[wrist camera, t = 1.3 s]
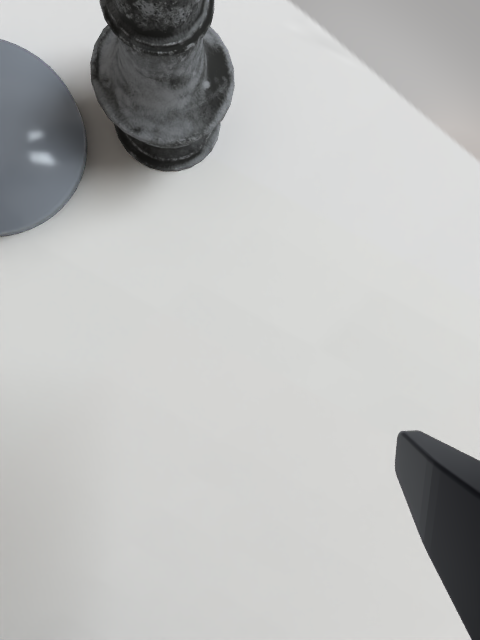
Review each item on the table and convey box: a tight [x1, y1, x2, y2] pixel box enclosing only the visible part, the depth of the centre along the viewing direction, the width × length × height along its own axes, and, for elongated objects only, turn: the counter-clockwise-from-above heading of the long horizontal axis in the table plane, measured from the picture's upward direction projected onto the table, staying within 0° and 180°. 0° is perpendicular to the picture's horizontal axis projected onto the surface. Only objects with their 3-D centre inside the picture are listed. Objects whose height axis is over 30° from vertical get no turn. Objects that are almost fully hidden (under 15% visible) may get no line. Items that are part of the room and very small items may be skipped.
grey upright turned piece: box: [91, 0, 234, 171], centre depth 14 cm, size 6×6×12 cm
